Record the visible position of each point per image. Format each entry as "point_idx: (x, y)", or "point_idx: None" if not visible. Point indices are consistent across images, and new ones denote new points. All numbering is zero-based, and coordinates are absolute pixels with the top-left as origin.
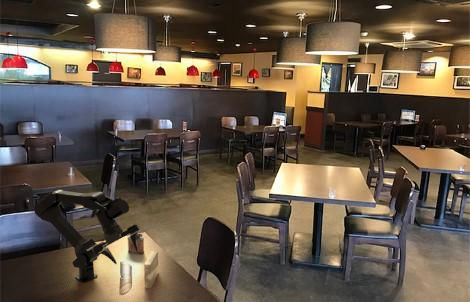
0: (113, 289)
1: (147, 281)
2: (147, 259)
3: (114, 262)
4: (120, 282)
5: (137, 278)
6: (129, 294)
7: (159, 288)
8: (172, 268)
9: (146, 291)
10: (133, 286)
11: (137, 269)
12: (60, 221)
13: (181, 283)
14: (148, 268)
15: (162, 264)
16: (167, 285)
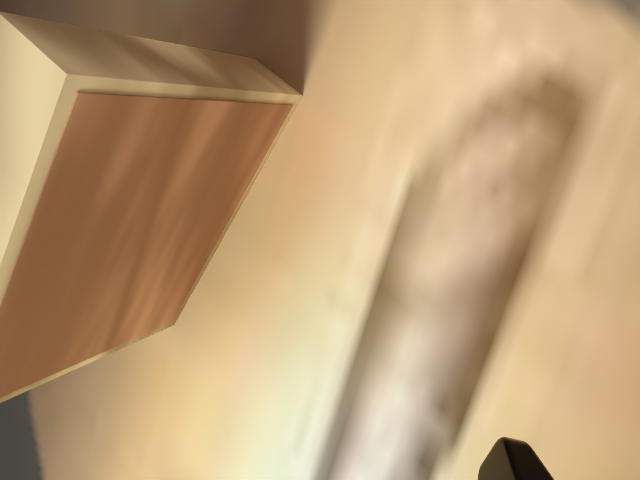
0: (626, 259)
1: (234, 72)
2: (10, 221)
3: (544, 477)
4: (488, 357)
5: (309, 315)
6: (487, 35)
7: (193, 11)
8: None
9: (307, 12)
10: (391, 187)
11: (264, 467)
12: None
13: (39, 8)
14: (82, 42)
15: (87, 390)
16: (128, 31)
